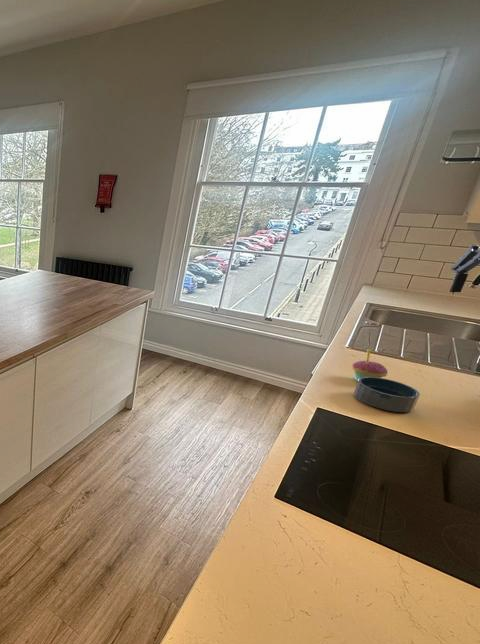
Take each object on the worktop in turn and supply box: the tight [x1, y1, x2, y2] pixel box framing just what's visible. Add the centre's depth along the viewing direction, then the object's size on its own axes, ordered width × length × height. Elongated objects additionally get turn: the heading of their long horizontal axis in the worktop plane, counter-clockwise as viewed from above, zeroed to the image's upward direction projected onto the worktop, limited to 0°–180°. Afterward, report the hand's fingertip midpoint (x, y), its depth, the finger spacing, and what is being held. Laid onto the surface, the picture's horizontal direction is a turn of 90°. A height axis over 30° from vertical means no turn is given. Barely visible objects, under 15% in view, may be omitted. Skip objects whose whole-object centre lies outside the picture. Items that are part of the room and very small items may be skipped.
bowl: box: [353, 377, 421, 413], centre depth 122 cm, size 13×13×6 cm
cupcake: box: [351, 346, 388, 382], centre depth 134 cm, size 9×8×12 cm
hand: (473, 297), depth 134 cm, fingers open, 13 cm apart
